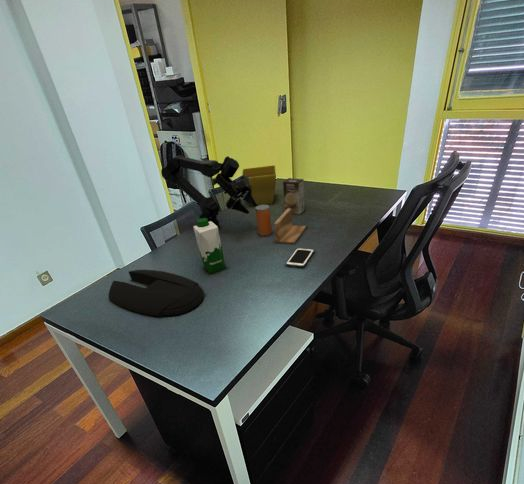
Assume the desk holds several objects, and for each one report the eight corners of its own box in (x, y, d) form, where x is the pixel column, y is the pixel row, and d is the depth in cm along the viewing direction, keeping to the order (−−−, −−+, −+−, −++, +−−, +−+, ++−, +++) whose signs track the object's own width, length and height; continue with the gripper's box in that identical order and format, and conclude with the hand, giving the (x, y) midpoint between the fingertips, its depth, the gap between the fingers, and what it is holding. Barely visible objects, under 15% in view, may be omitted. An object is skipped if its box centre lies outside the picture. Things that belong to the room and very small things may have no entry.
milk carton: (220, 260, 143) (210, 215, 130) (228, 268, 137) (219, 221, 124) (201, 267, 141) (189, 221, 128) (209, 275, 134) (197, 228, 121)
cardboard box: (278, 205, 188) (275, 173, 177) (245, 209, 189) (240, 178, 179) (277, 194, 202) (275, 165, 192) (247, 198, 204) (242, 168, 193)
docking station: (174, 326, 110) (169, 315, 107) (99, 300, 129) (94, 289, 126) (219, 289, 125) (216, 277, 122) (146, 270, 144) (142, 260, 141)
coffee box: (284, 213, 178) (282, 181, 167) (289, 208, 182) (288, 177, 171) (299, 214, 173) (298, 182, 163) (304, 210, 177) (304, 178, 167)
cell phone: (285, 266, 133) (285, 264, 132) (297, 249, 143) (297, 247, 142) (303, 268, 130) (303, 266, 129) (314, 251, 140) (314, 249, 139)
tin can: (257, 236, 159) (253, 210, 150) (260, 230, 163) (257, 204, 155) (270, 236, 157) (267, 209, 149) (273, 230, 162) (270, 204, 154)
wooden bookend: (275, 242, 151) (274, 223, 145) (288, 226, 163) (287, 208, 157) (294, 243, 148) (293, 224, 142) (306, 227, 160) (305, 208, 154)
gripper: (227, 177, 140) (254, 204, 143) (245, 165, 152) (269, 190, 155) (214, 196, 147) (240, 221, 151) (233, 183, 160) (256, 206, 163)
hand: (252, 209), depth 155 cm, fingers open, 9 cm apart
